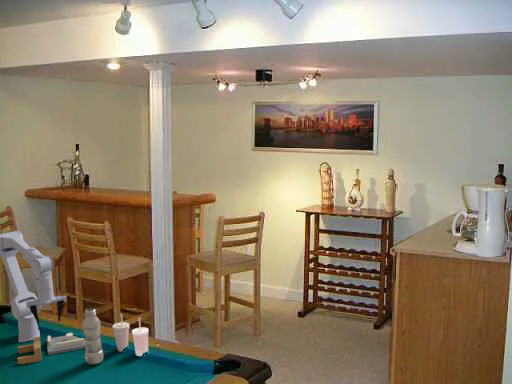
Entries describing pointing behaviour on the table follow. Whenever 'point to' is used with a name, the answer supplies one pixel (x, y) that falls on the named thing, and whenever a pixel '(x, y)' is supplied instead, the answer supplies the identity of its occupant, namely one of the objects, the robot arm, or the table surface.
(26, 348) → the wooden c-shaped bracket
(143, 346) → the beverage cup
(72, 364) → the table surface
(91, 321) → the plastic bottle
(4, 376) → the table surface
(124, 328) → the smoothie
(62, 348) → the stand
